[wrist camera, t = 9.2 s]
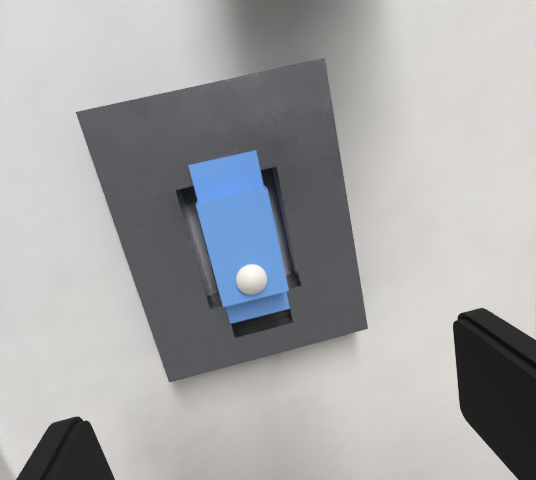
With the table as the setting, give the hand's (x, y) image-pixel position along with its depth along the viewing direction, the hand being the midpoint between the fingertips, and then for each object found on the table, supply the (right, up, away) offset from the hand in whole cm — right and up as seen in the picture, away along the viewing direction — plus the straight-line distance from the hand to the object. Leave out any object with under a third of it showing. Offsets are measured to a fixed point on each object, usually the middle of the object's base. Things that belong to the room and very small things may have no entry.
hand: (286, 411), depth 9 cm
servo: (-3, +5, +19) cm, 20 cm away
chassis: (-3, +5, +19) cm, 20 cm away
